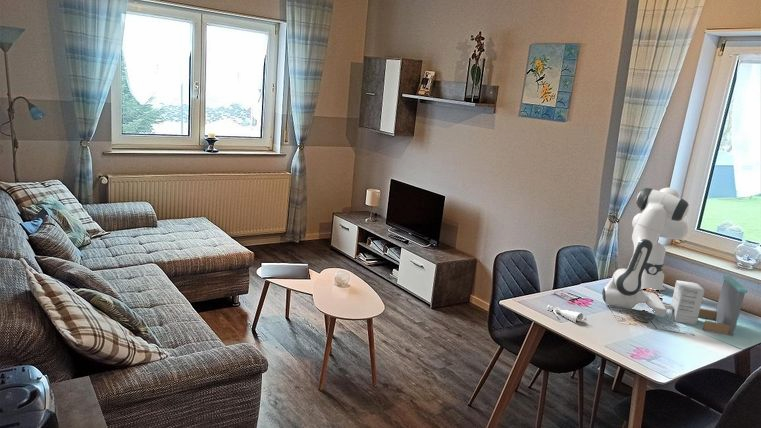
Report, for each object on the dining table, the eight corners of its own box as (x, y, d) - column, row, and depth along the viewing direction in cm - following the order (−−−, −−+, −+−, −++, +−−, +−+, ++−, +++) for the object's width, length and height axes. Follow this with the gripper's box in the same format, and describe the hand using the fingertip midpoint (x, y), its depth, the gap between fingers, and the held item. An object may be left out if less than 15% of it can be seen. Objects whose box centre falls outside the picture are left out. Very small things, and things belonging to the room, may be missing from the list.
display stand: (691, 314, 252) (702, 271, 247) (719, 319, 250) (730, 276, 245) (704, 330, 234) (716, 285, 229) (734, 336, 232) (747, 290, 227)
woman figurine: (579, 317, 223) (540, 305, 236) (577, 328, 223) (539, 314, 236) (592, 312, 230) (554, 300, 243) (591, 322, 231) (553, 309, 244)
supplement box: (696, 325, 239) (705, 290, 235) (674, 321, 241) (683, 286, 237) (689, 317, 249) (697, 282, 245) (667, 313, 250) (676, 279, 246)
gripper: (645, 303, 237) (679, 309, 234) (636, 287, 257) (667, 292, 254) (642, 316, 239) (676, 322, 236) (633, 299, 258) (664, 305, 255)
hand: (671, 306), depth 245 cm, fingers closed
